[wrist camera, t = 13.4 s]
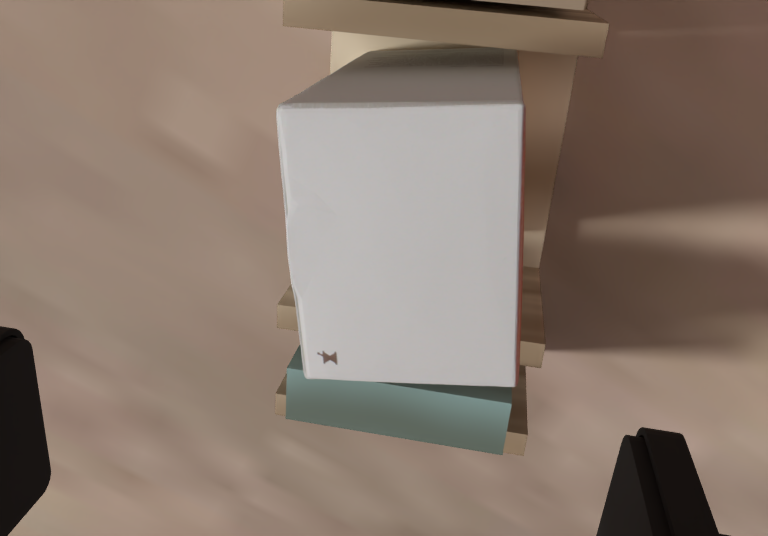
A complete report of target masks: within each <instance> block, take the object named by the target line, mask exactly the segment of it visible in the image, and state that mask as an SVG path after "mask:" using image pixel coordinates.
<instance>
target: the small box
mask: <svg viewBox="0 0 768 536" xmlns="http://www.w3.org/2000/svg"><path fill="white" fill-rule="evenodd" d="M276 119H277V131H278V143H279V154H280V166H281V177H282V186H283V197H284V208H285V218H286V235H287V252H288V262H289V269H290V277H291V284H292V289H293V293H294V299H295V306H296V314H297V322H298V331H299V338H300V345H301V355H302V363H303V372H304V376H305V378H306V379H332V380H348V381H368V382H391V383H415V384H446V385H468V386H500V387H515V386H517V384H518V380H519V365H520V341H521V316H522V287H523V245H524V182H525V143H526V105H525V104H524V100H523V92H522V84H521V76H520V68H519V57H518V50H514V49H504V48H495V47H487V48H458V49H424V50H393V51H369V52H367V53H365V54H363V55H361V56H359V57H358V58H356V59H354V60H353V61H351V62H349V63H348V64H346V65H344V66H343V67H341V68H340V69H338V70H337V71H335V72H334V73H332V74H330V75H329V76H327V77H325V78H323V79H322V80H320V81H318V82H317V83H315V84H314V85H312V86H310V87H309V88H307V89H306V90H304V91H302V92H301V93H299V94H297V95H295V96H294V97H292V98H290V99H289V100H287V101H285V102H283V103H281V104H279V106H278V108H277V112H276Z"/></svg>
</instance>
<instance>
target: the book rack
mask: <svg viewBox="0 0 768 536" xmlns="http://www.w3.org/2000/svg"><path fill="white" fill-rule="evenodd" d="M587 5H588V0H283V26H287V27H297V28H307V29H317V30H326V31H332V42H331V63H330V74H332V73H334V72H335V71H337V70H338V69H340V68H341V67H343V66H344V65H346V64H348V63H349V62H351V61H353V60H354V59H356V58H358V57H359V56H361V55H363V54H365V53H367V52H369V51H393V50H424V49H458V48H487V47H495V48H504V49H514V50H518V57H519V68H520V76H521V84H522V92H523V100H524V104H525V105H526V143H525V182H524V245H523V287H522V316H521V341H520V365H519V380H518V384H517V386H515V387H500V386H468V385H446V384H415V383H391V382H368V381H348V380H332V379H306V378H305V376H304V372H303V363H302V355H301V345H299V347H298V349H297V351H296V352H295V354H294V356H293V358H292V360H291V362H290V363H289V365H288V367H287V374H286V375H285V377H284V379H283V381H282V383H281V385H280V386H279V388H278V390H277V392H276V398H275V414H277V415H283V416H286V419H291V420H297V421H303V422H309V423H314V424H320V425H326V426H332V427H338V428H344V429H350V430H356V431H362V432H368V433H374V434H380V435H386V436H392V437H398V438H404V439H410V440H415V441H421V442H427V443H433V444H439V445H445V446H451V447H457V448H463V449H469V450H475V451H481V452H487V453H493V454H499V455H503V453H509V454H515V455H521V456H524V451H525V446H526V441H527V436H528V429H527V400H526V370H525V366H529V367H536V368H541V365H542V360H543V355H544V350H545V345H546V343H545V332H544V321H543V309H542V298H541V287H540V275H539V265H540V260H541V254H542V249H543V243H544V238H545V232H546V227H547V222H548V216H549V211H550V205H551V200H552V195H553V189H554V184H555V178H556V173H557V167H558V162H559V157H560V151H561V146H562V140H563V135H564V130H565V124H566V119H567V113H568V108H569V102H570V97H571V92H572V86H573V81H574V75H575V70H576V65H577V59H578V56H584V57H593V58H603V53H604V48H605V43H606V38H607V33H608V28H609V23H607V22H606V21H604V20H603V19H601V18H600V17H598V16H597V15H595V14H593V13H592V12H590V11H589V10H587ZM277 328H281V329H288V330H294V331H298V322H297V314H296V306H295V299H294V293H293V289H292V284H291V285H290V287H289V288H288V290H287V291H286V293H285V294H284V296H283V297H282V298H281V300H280V301H279V303H278V304H277Z"/></svg>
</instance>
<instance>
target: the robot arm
mask: <svg viewBox="0 0 768 536" xmlns="http://www.w3.org/2000/svg"><path fill="white" fill-rule="evenodd" d="M50 476H51V467H50V461H49V454H48V448H47V441H46V435H45V428H44V422H43V415H42V409H41V402H40V395H39V389H38V382H37V376H36V369H35V363H34V356H33V350H32V346H31V344H30V342H29V341H27V340H25V339H24V336H23V334H22V333H21V332H20V331H19V330H17V329H14V328H7V327H1V326H0V536H8V534H9V533H10V532H11V531H12V530H13V529H14V527H15V526H16V525H17V524H18V523H19V522H20V520H21V519H22V518H23V517H24V516H25V515H26V513H27V512H28V511H29V510H30V509H31V508H32V506H33V505H34V504H35V503H36V502H37V501H38V499H39V498H40V497H41V496H42V495H43V493H44V492H45V490H46V488H47V486H48V484H49V481H50ZM596 536H729V535H723V534H719V533H718V530H717V527H716V524H715V521H714V519H713V516H712V513H711V510H710V507H709V505H708V502H707V499H706V496H705V494H704V491H703V488H702V485H701V482H700V480H699V477H698V474H697V471H696V468H695V466H694V463H693V460H692V457H691V455H690V452H689V449H688V446H687V443H686V441H685V438H684V436H683V435H682V434H680V433H675V432H669V431H662V430H656V429H650V428H643V427H642V428H640V429H639V431H638V432H637V435H636V436H630V435H625V436H624V438H623V440H622V443H621V447H620V451H619V454H618V458H617V462H616V465H615V469H614V473H613V476H612V480H611V484H610V487H609V491H608V495H607V498H606V502H605V506H604V510H603V513H602V517H601V521H600V524H599V528H598V532H597V535H596Z"/></svg>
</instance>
